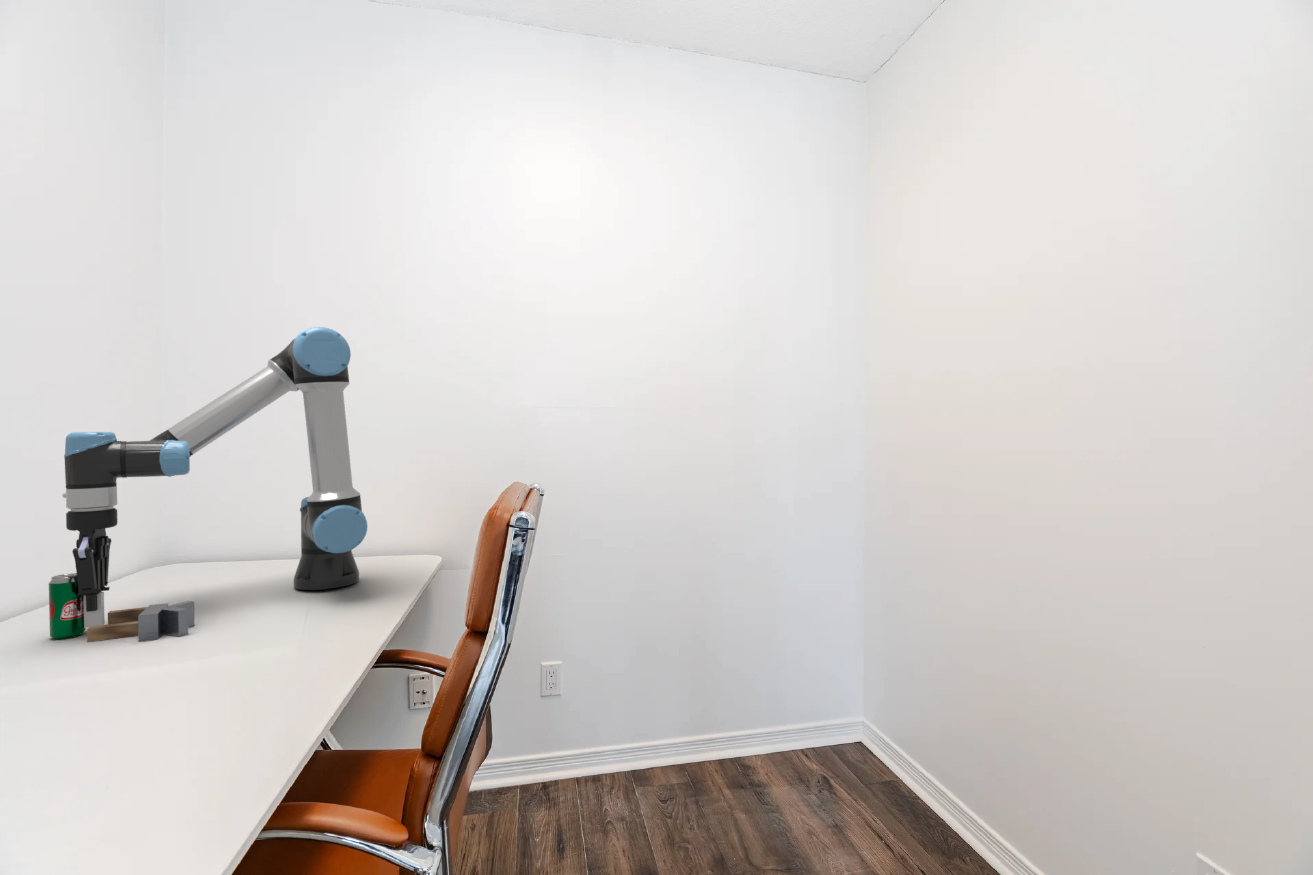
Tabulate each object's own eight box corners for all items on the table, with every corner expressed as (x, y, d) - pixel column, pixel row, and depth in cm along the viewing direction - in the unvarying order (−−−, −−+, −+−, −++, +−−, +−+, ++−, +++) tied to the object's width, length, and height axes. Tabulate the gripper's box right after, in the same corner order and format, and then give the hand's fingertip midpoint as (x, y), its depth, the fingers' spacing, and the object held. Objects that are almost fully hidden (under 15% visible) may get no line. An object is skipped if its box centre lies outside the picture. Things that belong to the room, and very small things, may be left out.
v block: (195, 623, 127) (195, 600, 127) (186, 635, 119) (186, 610, 119) (150, 629, 123) (150, 604, 123) (138, 641, 116) (137, 615, 116)
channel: (158, 617, 131) (158, 605, 131) (140, 635, 120) (140, 622, 120) (110, 622, 128) (110, 610, 128) (87, 641, 116) (87, 628, 116)
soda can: (64, 640, 117) (63, 579, 117) (42, 639, 117) (41, 578, 117) (92, 632, 122) (91, 572, 122) (71, 631, 122) (70, 572, 122)
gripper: (79, 506, 125) (81, 619, 125) (53, 513, 114) (55, 638, 114) (126, 504, 129) (128, 614, 129) (105, 511, 117) (107, 632, 117)
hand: (94, 625), depth 121 cm, fingers closed, pressing on soda can
